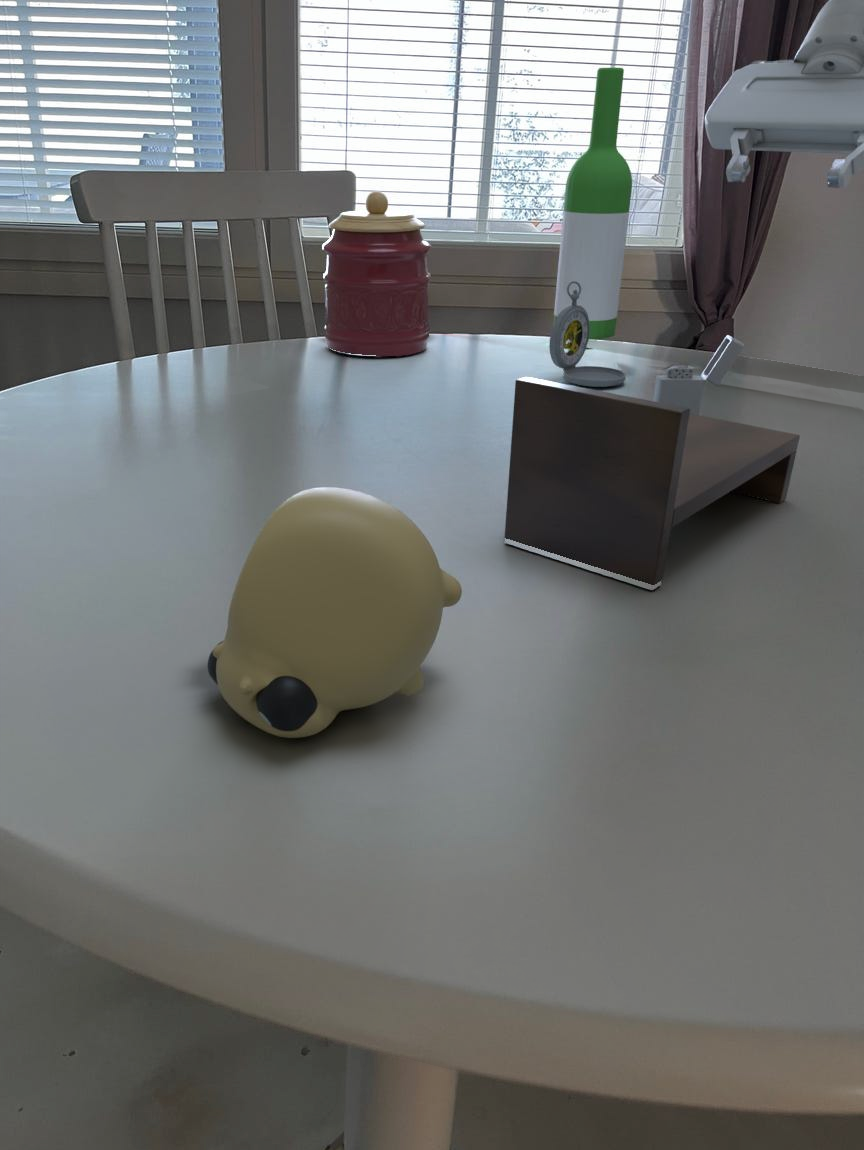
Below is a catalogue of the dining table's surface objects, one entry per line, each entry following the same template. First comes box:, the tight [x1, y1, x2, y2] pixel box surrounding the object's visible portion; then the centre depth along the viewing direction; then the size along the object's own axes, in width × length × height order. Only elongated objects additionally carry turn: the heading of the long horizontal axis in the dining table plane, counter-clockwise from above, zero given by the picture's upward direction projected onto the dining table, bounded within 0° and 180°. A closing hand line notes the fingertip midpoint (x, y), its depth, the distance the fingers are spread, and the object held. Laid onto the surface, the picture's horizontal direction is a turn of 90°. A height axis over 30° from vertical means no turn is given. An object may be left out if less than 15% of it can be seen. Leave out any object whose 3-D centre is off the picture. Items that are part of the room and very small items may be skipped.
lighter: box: [652, 334, 745, 415], centre depth 86 cm, size 7×2×8 cm, turn 88°
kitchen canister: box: [321, 190, 432, 357], centre depth 112 cm, size 13×13×18 cm
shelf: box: [504, 376, 801, 585], centre depth 64 cm, size 11×21×11 cm, turn 138°
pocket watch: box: [549, 281, 627, 388], centre depth 100 cm, size 8×8×10 cm
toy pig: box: [207, 486, 463, 739], centre depth 44 cm, size 10×12×11 cm
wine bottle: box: [552, 67, 633, 350], centre depth 111 cm, size 8×8×30 cm
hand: (783, 180), depth 86 cm, fingers open, 8 cm apart
